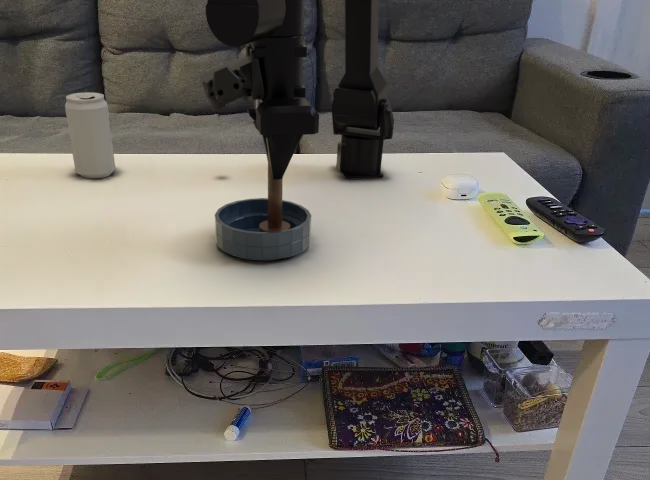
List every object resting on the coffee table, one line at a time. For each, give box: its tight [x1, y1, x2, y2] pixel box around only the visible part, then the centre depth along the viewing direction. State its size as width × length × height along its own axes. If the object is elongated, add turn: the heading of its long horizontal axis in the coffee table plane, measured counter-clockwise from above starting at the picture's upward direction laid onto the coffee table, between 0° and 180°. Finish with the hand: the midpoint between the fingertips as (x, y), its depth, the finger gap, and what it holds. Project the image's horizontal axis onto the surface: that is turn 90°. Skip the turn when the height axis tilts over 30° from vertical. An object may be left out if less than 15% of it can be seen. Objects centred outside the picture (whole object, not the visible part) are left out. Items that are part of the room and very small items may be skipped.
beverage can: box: [64, 91, 116, 179], centre depth 105 cm, size 6×6×12 cm
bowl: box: [214, 197, 312, 262], centre depth 85 cm, size 12×12×4 cm
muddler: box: [259, 154, 291, 232], centre depth 82 cm, size 4×4×11 cm
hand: (275, 176), depth 81 cm, fingers closed on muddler, 2 cm apart
